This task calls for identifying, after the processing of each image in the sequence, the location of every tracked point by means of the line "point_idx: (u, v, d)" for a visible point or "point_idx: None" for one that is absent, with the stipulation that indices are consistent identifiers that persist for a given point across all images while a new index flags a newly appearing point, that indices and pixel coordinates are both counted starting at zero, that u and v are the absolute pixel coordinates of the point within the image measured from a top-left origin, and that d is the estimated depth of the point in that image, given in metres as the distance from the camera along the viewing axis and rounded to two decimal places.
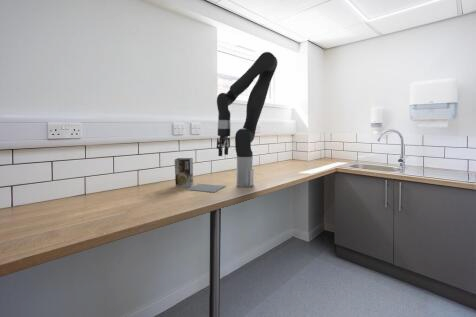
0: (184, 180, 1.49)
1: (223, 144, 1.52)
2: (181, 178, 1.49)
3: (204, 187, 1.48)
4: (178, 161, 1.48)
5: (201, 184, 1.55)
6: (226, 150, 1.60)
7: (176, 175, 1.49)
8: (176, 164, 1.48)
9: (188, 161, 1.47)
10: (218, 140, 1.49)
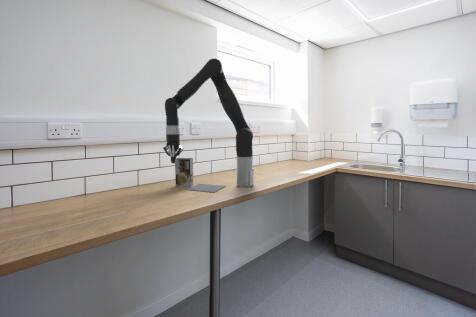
0: (184, 180, 1.49)
1: (177, 151, 1.53)
2: (181, 177, 1.49)
3: (204, 187, 1.48)
4: (178, 161, 1.48)
5: (201, 184, 1.55)
6: None
7: (176, 175, 1.49)
8: (176, 164, 1.48)
9: (188, 161, 1.47)
10: (181, 150, 1.50)
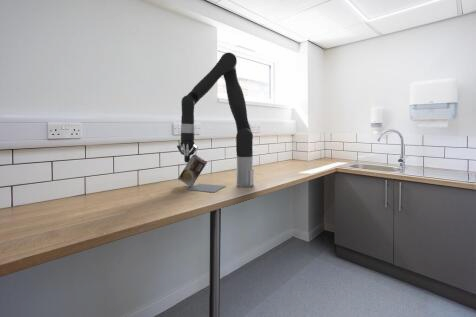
0: (188, 178, 1.48)
1: None
2: (187, 174, 1.48)
3: (204, 187, 1.48)
4: (194, 159, 1.46)
5: (201, 184, 1.55)
6: None
7: (184, 170, 1.47)
8: (190, 161, 1.46)
9: (203, 165, 1.46)
10: (195, 149, 1.47)
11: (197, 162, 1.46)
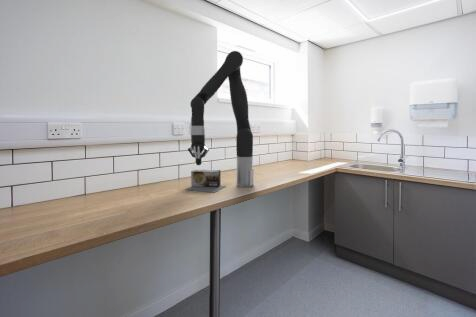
0: (197, 180, 1.48)
1: None
2: (200, 177, 1.48)
3: (204, 187, 1.48)
4: (217, 175, 1.47)
5: None
6: None
7: (202, 172, 1.48)
8: (214, 173, 1.47)
9: (217, 185, 1.48)
10: (207, 151, 1.44)
11: (216, 179, 1.48)
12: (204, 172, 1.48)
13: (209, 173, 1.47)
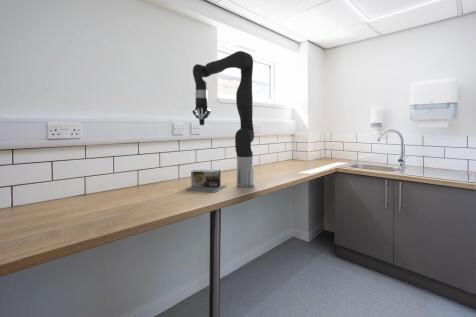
0: (197, 180, 1.48)
1: (205, 114, 1.68)
2: (200, 177, 1.48)
3: (204, 187, 1.48)
4: (217, 175, 1.47)
5: None
6: None
7: (202, 173, 1.48)
8: (214, 173, 1.47)
9: (217, 185, 1.48)
10: (209, 112, 1.65)
11: (216, 179, 1.48)
12: (204, 172, 1.48)
13: (209, 173, 1.47)
